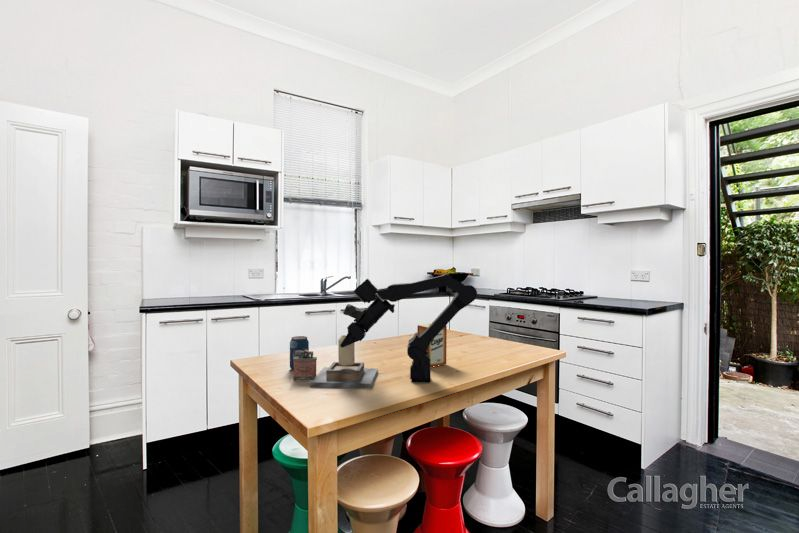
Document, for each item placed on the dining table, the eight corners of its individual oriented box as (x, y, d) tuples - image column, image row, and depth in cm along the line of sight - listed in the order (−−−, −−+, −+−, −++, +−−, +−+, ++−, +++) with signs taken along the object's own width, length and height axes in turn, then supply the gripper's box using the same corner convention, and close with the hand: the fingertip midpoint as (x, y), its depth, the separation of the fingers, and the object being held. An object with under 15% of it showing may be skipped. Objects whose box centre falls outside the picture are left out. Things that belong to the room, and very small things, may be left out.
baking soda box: (427, 368, 152) (427, 326, 151) (417, 364, 157) (417, 324, 157) (446, 364, 157) (446, 324, 157) (435, 361, 162) (436, 322, 162)
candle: (352, 361, 140) (351, 333, 140) (356, 364, 135) (356, 335, 135) (336, 362, 138) (336, 334, 138) (340, 366, 133) (340, 337, 133)
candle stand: (377, 372, 145) (377, 360, 145) (371, 388, 127) (371, 374, 127) (324, 371, 147) (324, 359, 147) (309, 386, 129) (310, 373, 129)
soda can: (293, 372, 144) (293, 340, 144) (287, 368, 150) (287, 337, 150) (311, 369, 148) (311, 338, 148) (304, 365, 154) (304, 335, 154)
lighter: (317, 377, 139) (317, 349, 139) (315, 380, 135) (315, 351, 135) (294, 377, 138) (294, 349, 138) (292, 380, 135) (292, 351, 135)
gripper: (360, 294, 146) (331, 324, 146) (353, 298, 127) (319, 333, 128) (382, 315, 146) (352, 345, 146) (378, 323, 127) (344, 357, 127)
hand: (342, 344), depth 137 cm, fingers closed on candle, 5 cm apart
